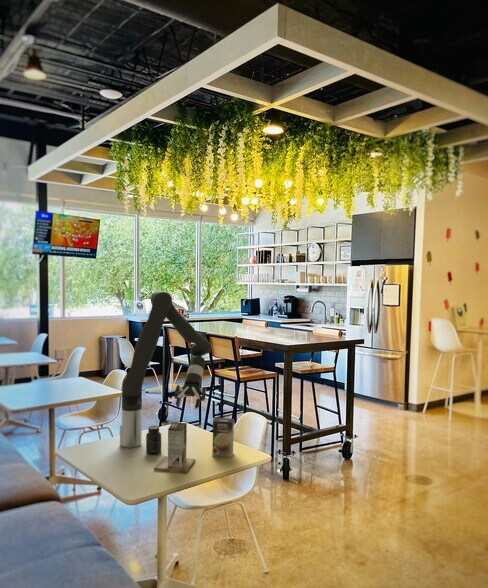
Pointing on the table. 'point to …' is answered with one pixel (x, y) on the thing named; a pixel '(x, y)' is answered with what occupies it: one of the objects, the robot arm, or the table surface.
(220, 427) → the coffee box
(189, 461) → the brown tray
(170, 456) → the coffee box
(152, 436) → the supplement bottle
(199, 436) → the table surface
